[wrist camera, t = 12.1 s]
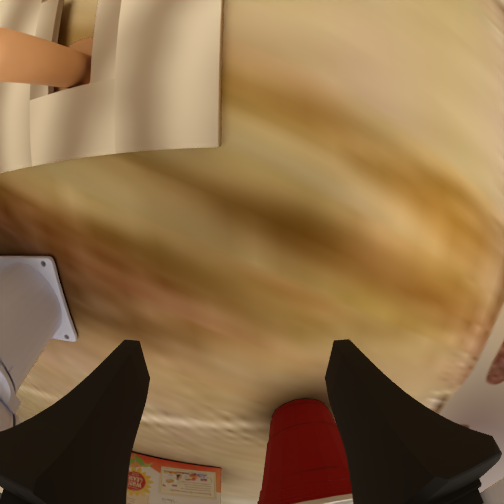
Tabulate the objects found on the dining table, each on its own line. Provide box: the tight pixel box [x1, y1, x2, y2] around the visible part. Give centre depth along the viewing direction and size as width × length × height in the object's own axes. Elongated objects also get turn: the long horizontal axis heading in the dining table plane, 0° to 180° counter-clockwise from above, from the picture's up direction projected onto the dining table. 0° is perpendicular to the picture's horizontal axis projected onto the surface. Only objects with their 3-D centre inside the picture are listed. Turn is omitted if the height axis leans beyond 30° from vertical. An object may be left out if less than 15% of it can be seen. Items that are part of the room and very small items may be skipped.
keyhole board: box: [0, 0, 224, 173], centre depth 11 cm, size 18×22×2 cm
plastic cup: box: [258, 399, 353, 504], centre depth 21 cm, size 11×11×12 cm
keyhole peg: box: [0, 27, 93, 93], centre depth 10 cm, size 5×5×9 cm
